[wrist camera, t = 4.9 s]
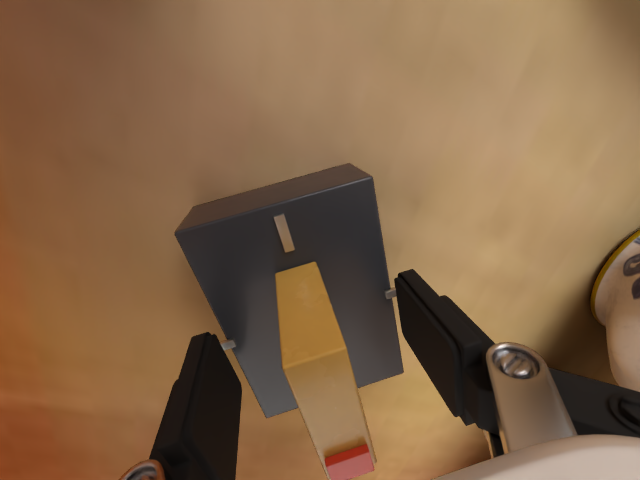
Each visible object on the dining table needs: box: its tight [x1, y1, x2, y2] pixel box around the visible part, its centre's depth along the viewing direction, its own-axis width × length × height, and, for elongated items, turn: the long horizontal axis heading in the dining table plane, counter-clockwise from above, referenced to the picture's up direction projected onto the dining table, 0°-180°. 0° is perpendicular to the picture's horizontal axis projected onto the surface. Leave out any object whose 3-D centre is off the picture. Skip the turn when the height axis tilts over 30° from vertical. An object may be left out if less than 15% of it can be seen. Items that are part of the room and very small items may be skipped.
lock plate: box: [175, 163, 404, 418], centre depth 13 cm, size 10×9×3 cm
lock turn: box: [275, 262, 377, 480], centre depth 10 cm, size 5×2×5 cm, turn 14°
